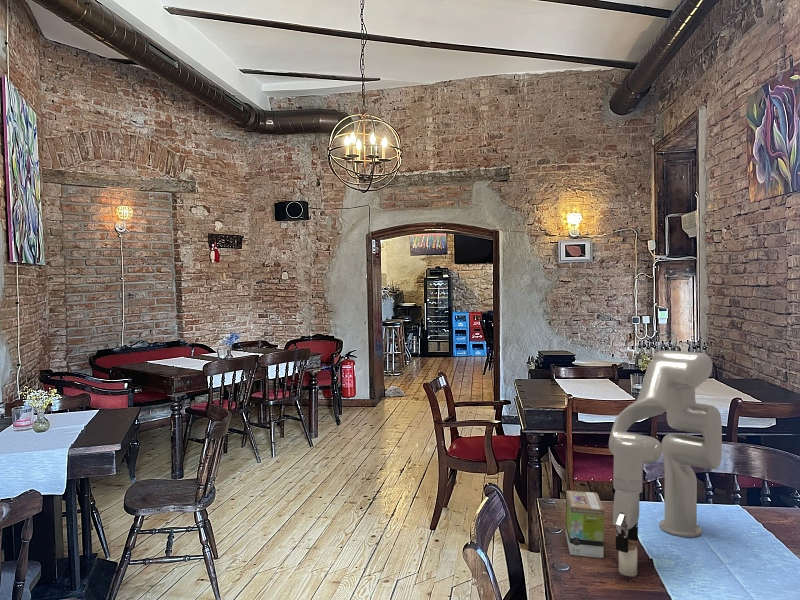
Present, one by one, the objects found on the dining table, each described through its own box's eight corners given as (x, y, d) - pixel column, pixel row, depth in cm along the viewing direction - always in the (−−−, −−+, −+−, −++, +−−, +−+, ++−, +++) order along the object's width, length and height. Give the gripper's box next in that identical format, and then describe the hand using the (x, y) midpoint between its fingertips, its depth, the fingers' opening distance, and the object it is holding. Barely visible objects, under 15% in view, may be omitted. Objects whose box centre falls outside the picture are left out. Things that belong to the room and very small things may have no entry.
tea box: (604, 559, 165) (604, 508, 165) (569, 555, 167) (569, 506, 167) (597, 537, 179) (597, 491, 179) (564, 534, 181) (565, 489, 181)
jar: (621, 566, 160) (621, 539, 160) (639, 571, 157) (639, 544, 157) (616, 572, 156) (616, 545, 156) (634, 578, 153) (634, 550, 153)
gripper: (622, 474, 166) (621, 532, 165) (604, 488, 152) (603, 552, 152) (649, 479, 161) (648, 538, 161) (633, 494, 147) (632, 560, 147)
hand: (626, 545), depth 156 cm, fingers open, 9 cm apart
